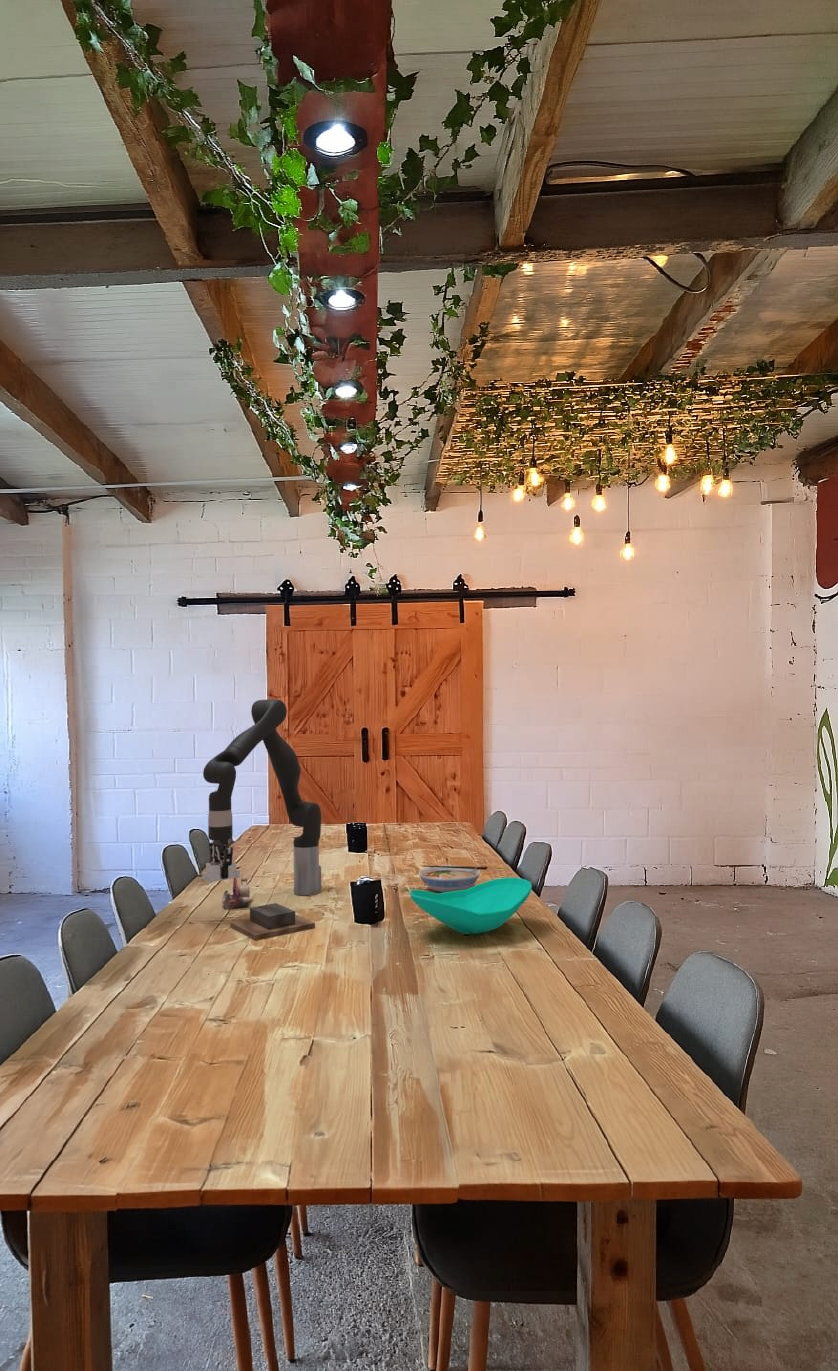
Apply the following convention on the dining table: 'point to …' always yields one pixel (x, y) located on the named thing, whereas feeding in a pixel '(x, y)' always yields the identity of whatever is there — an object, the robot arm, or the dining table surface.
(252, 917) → the stand
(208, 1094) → the dining table surface
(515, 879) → the table top decor
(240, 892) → the brake caliper
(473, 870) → the ramen bowl
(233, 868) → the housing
